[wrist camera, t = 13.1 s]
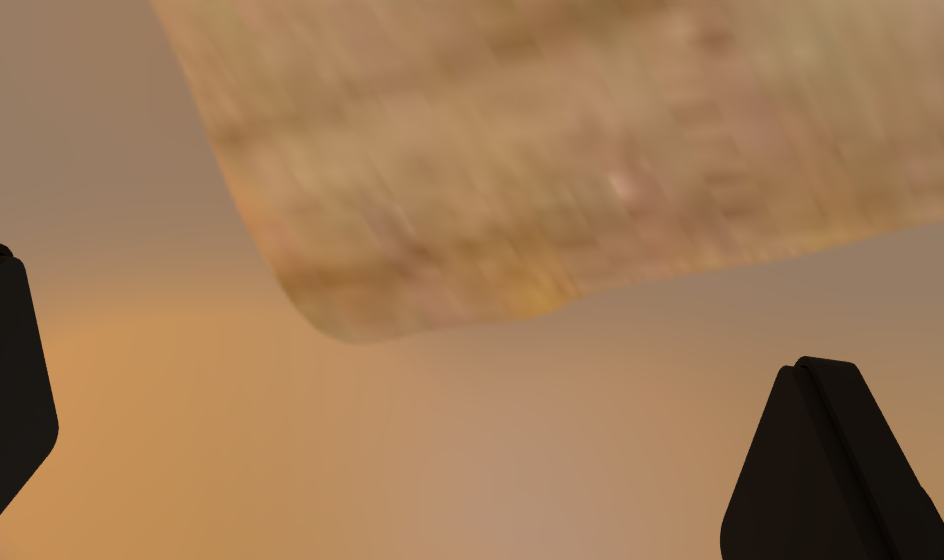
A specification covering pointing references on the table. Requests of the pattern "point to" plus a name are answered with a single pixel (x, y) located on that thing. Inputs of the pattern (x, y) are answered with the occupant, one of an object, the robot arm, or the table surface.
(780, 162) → the table surface
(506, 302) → the table surface
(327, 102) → the table surface
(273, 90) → the table surface
